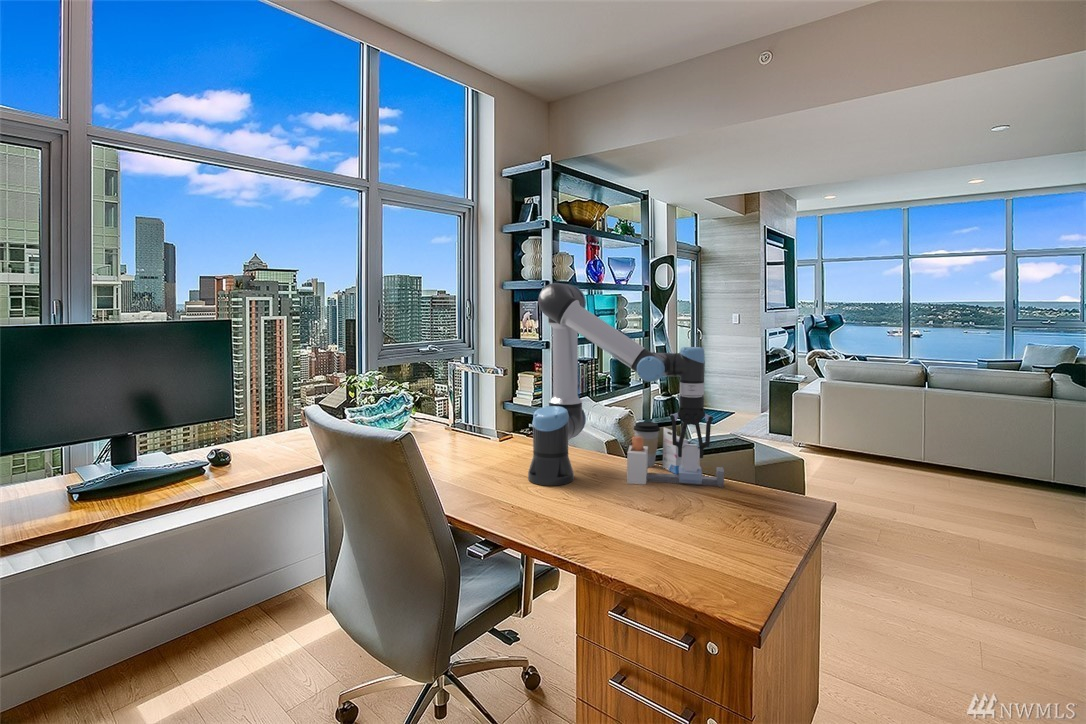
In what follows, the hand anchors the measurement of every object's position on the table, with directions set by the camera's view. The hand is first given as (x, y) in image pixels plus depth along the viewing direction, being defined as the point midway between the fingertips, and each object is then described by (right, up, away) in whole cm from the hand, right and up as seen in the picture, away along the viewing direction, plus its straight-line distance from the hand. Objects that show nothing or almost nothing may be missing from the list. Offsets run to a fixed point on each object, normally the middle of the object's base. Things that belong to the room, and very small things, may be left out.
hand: (690, 467), depth 174 cm
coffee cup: (-10, -3, +21) cm, 24 cm away
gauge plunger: (-16, +5, +4) cm, 17 cm away
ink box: (-2, -4, +14) cm, 15 cm away
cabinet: (-16, -5, +4) cm, 18 cm away
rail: (-3, -5, +1) cm, 6 cm away
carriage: (0, -5, +1) cm, 5 cm away
